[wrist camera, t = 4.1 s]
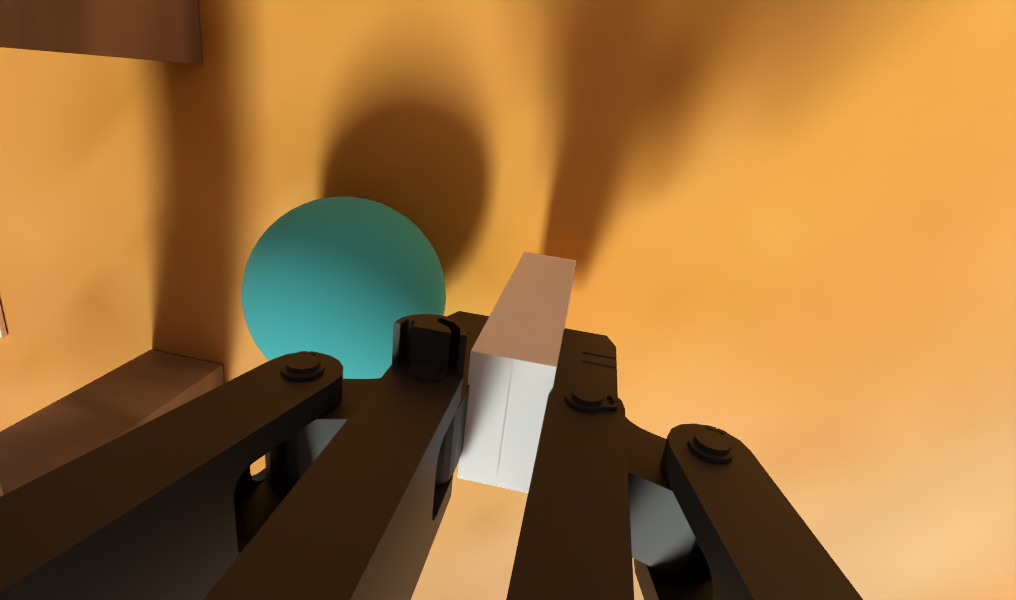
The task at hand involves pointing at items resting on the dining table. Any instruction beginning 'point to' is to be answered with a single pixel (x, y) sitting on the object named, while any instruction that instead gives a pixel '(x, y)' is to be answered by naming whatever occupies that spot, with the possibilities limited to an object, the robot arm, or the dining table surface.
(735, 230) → the dining table surface
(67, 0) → the bridge
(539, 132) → the dining table surface
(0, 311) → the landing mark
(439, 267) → the ball
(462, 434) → the robot arm
